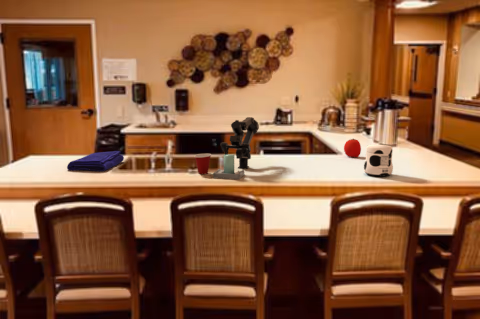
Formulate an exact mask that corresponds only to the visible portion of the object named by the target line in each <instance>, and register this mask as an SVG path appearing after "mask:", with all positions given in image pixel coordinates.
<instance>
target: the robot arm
mask: <svg viewBox="0 0 480 319" xmlns="http://www.w3.org/2000/svg"><path fill="white" fill-rule="evenodd" d="M230 128H231V129H232V132H233V133H234V135H230V136H229V142H230V144H229V143H228V142H220V149H221V151H223V152H224V155H226V154H229V150H230V149H234V150H235V156H236V159H239V160H238V162H239V164H238V167H237V169H249V167H250V166H249V160H251V159H252V155H251V151H252V149H251V146H250V144H251V143H252V142H251V141H252V140H253V136H254V135H255V134H257V132H258V131H259V130H260V125H259V122H258V121H257V120H256V119H255V118H254V117H249V116H247V117H245V119H242V120H239V119H235V121H232V122H231V124H230ZM244 131H245V132H246V133H245V132H244Z"/></svg>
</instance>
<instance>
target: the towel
mask: <svg viewBox="0 0 480 319" xmlns="http://www.w3.org/2000/svg"><path fill="white" fill-rule="evenodd" d="M124 159H125V158H124V155H123V154H121V151H119V150H114V151H102V152H94V153H89V154H88V155H86V156H83V157H81V158H77V159H74V160H71V161H70V162H68V164H67V166H66V168H67V170H68V171H69V172H70V171H75V172H76V171H89V172H91V171H92V172H99V173H100V172H105V171H107V170H109V169H111V168H113V167H116V166H117V165H119V164H120V163H122V162H123V161H124Z"/></svg>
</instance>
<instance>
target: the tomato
mask: <svg viewBox="0 0 480 319" xmlns="http://www.w3.org/2000/svg"><path fill="white" fill-rule="evenodd" d="M343 145H344V146H343V152H344V154H345V155H346V156H347V157H349V158H358V157H359V156H360V155H361V153H362V146H361V143H360V141H359V139H356V138H350V139H348V140H347V141H346V142H345V143H344V144H343Z"/></svg>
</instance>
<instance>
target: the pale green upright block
mask: <svg viewBox="0 0 480 319" xmlns="http://www.w3.org/2000/svg"><path fill="white" fill-rule="evenodd" d="M223 170H224V173H227V174H234V173H235V154H231V153H230V154H229V153H228V154H226V155H225V154H223Z"/></svg>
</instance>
